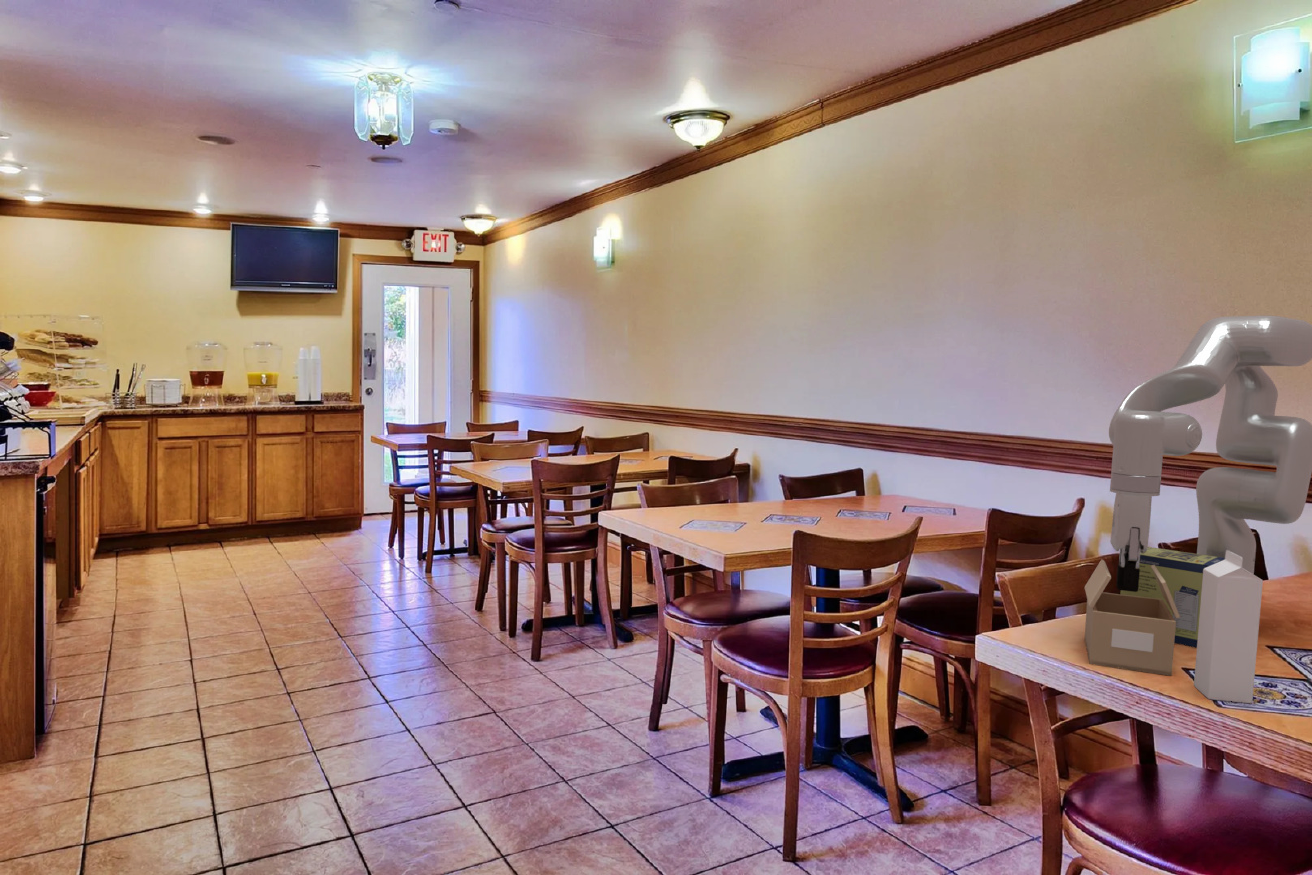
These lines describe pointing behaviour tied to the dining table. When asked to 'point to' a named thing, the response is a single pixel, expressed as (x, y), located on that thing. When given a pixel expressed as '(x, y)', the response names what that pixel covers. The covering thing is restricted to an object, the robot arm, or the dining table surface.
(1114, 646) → the carton
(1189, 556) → the protein box
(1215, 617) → the milk
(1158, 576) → the flap
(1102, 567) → the flap
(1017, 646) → the dining table surface
